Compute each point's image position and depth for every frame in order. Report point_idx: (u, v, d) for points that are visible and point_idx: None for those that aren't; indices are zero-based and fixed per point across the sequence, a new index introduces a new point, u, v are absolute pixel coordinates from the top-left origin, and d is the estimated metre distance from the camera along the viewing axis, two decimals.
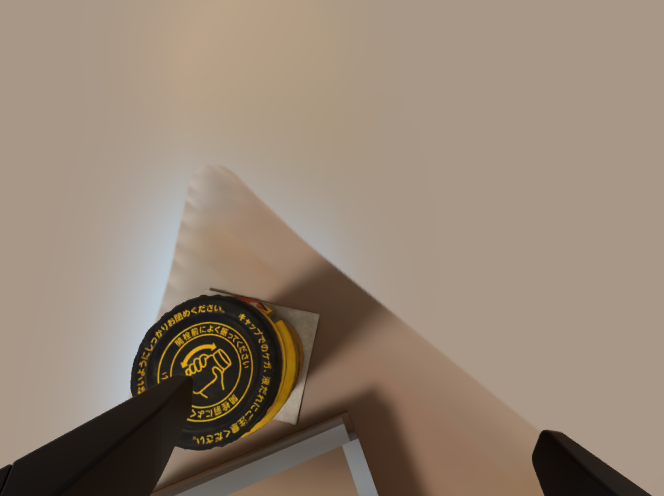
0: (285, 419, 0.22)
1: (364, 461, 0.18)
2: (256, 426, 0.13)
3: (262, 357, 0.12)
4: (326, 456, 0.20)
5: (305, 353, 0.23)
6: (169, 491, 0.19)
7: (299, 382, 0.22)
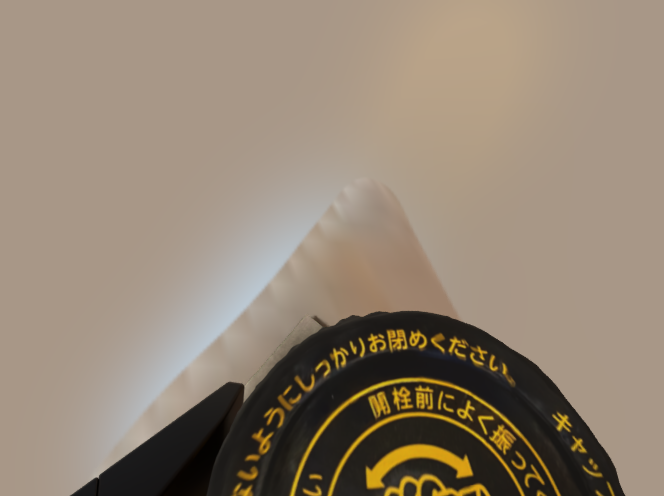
0: None
1: None
2: None
3: None
4: None
5: None
6: None
7: None
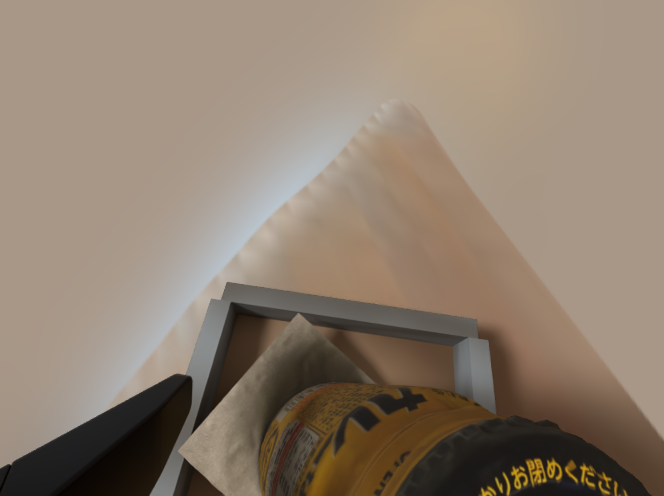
0: None
1: (489, 364, 0.16)
2: None
3: None
4: (432, 356, 0.18)
5: None
6: None
7: None
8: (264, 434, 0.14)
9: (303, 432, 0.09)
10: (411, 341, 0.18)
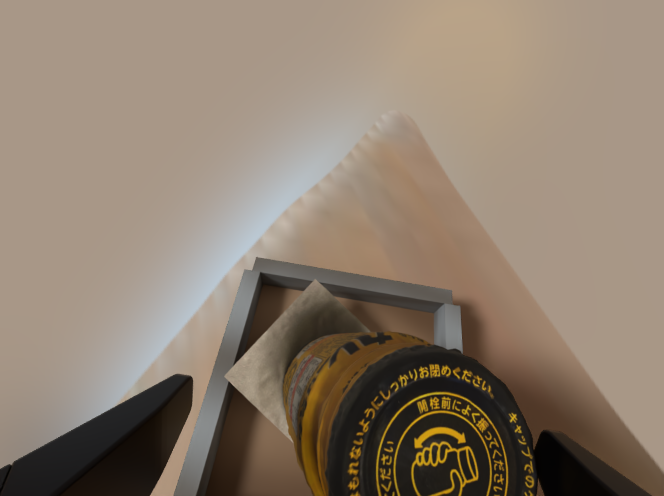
0: None
1: (459, 323, 0.20)
2: None
3: (523, 494, 0.08)
4: (417, 320, 0.22)
5: None
6: None
7: None
8: (287, 369, 0.18)
9: (313, 360, 0.13)
10: (400, 308, 0.23)
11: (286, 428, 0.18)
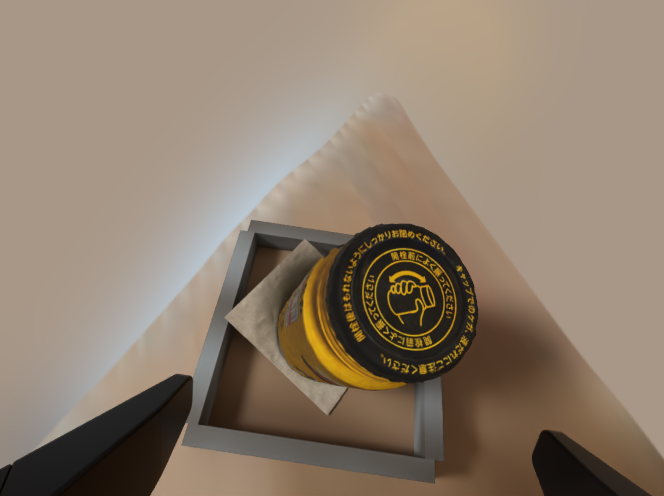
0: (319, 404, 0.19)
1: None
2: (387, 385, 0.12)
3: (467, 317, 0.11)
4: None
5: None
6: None
7: None
8: (280, 313, 0.21)
9: None
10: None
11: (280, 364, 0.20)
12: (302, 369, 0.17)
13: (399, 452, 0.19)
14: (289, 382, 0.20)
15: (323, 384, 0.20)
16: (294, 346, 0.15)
